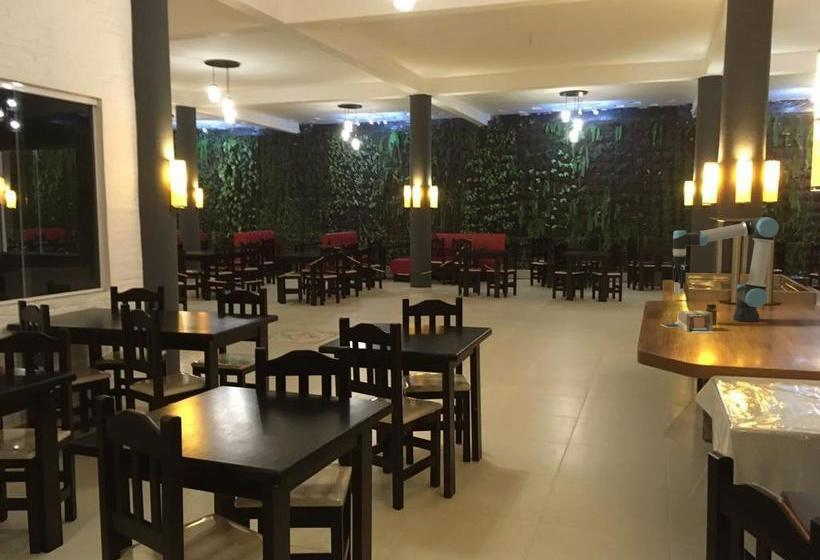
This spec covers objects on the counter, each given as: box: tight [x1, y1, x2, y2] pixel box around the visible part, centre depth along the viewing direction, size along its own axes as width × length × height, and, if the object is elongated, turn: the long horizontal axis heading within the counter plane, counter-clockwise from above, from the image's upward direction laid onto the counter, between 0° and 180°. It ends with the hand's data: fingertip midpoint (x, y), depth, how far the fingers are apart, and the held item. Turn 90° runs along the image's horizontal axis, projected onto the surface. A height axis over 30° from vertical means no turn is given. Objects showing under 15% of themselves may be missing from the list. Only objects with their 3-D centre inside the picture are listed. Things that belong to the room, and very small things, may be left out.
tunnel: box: [677, 310, 713, 332], centre depth 404 cm, size 15×11×10 cm
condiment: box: [705, 303, 718, 326], centre depth 421 cm, size 7×8×12 cm
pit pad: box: [661, 323, 678, 329], centre depth 418 cm, size 17×10×1 cm, turn 93°
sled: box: [674, 315, 708, 331], centre depth 410 cm, size 8×25×7 cm, turn 3°
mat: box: [691, 330, 716, 335], centre depth 394 cm, size 11×7×1 cm, turn 93°
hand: (678, 293), depth 425 cm, fingers open, 5 cm apart
